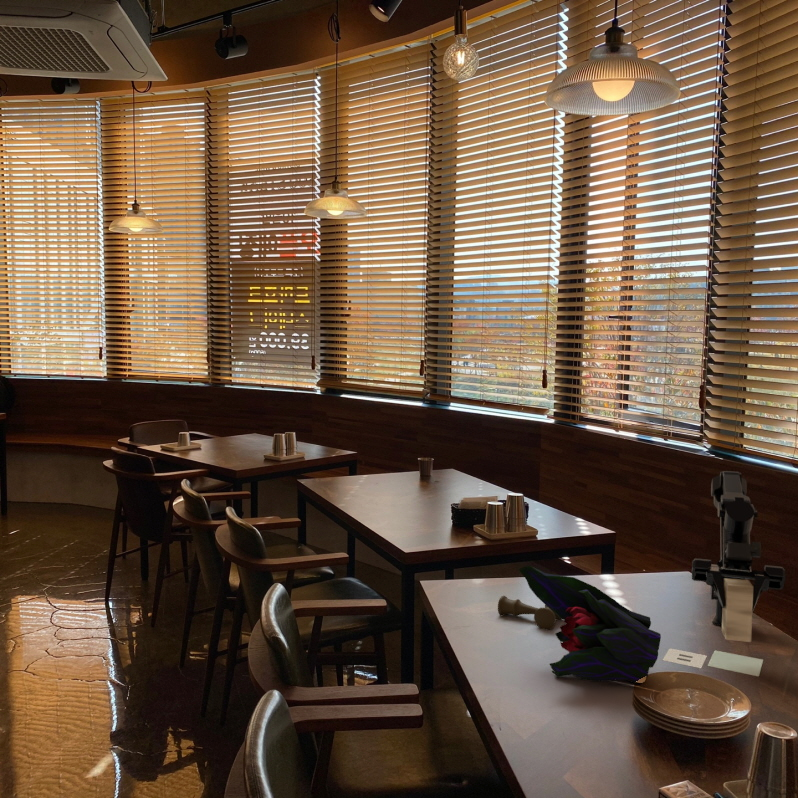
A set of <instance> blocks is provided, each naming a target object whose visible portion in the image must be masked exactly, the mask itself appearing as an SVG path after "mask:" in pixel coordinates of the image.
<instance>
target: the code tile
mask: <svg viewBox="0 0 798 798" xmlns="http://www.w3.org/2000/svg"><path fill="white" fill-rule="evenodd" d="M707 657H708V655H705V654H700V653H695V652H690V651H685V650H681V649H676V648H675V649H674V648H668V650H667V652H666V653H665V655H664V657H663V659H662V661H664V662H669V663H673V664H678V665H682V666H689V667H692V668H693V667H694V668H698V669H702V667H703V666H704V663H705V661H706V659H707Z"/></svg>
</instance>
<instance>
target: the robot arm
mask: <svg viewBox="0 0 798 798" xmlns="http://www.w3.org/2000/svg"><path fill="white" fill-rule="evenodd" d="M710 487H711V488H710V496H711V497H713V505H714V507H715V508H716V509H717V517H718V518H719V519H720V521H719V522H720V523H719V525H720V527H719V529H720V530H719V532H720V537H719V539H720V543H719V544H720V560H719V561H717V563H716V564H712V559H705V558H696V557H695V558H694V559H693V560H692V564H691V565H692V566H691V580H692V581H696V582H705V584H706V585H708V586H710V599H711V600H714V601H716V602H715V616H714V618H713V620H712V624H713V625H715V626H722V608H725V597H724V590H723V584H724V578H728V579H741V580H753V584H752V586H753V607H752V612H754V610H755V608H756V606H757V602H758V599H759V598H760V596H761V595H762V594H763V593H762V592H768V590H778V591H781V590H784V587H785V582H786V570H785V569H784V567H783V566H776V565H767V564H765V565H764V569H763V570H756V569H755V570H754V569H752V567H753V558H758V559H759V558H761V556H762V545H761V541H751V536H750V535H751V531H752V527H753V521H754V520H756V518H758V516H759V515H758V514H759V512H758V510H757V509H756V508H755V506H754V504H751V499H750V497H749V496H747V480H746V479H745V478H744V477H742V473H741V472H739V471H730V470H729V471H728V470H723V471H720V474H718V475H716V476H715V477H713V478H712V479H711V484H710Z"/></svg>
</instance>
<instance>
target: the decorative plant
mask: <svg viewBox="0 0 798 798" xmlns="http://www.w3.org/2000/svg"><path fill="white" fill-rule="evenodd" d="M518 571H519V572H520V573H521V575H522V576H523V578H525V580H526V583H527V585H528V587H529V589H530V590H531V591H532V593H533V594H534V595H535V596H536V598H537V599H539V600H540V601H541V602H542V603H543V604H544V606H545V605H546V606H547V607H549V608H550V609H551V610H552V611H553V612H554V613H555V614H556V615H557V616H559V617H560V618H562V620H563V622H564V623H565V624H563V625H561V626H559V629H560V631H558V632H555V636H556V638H557V639H558V640H559V642H560V643H559V644H560V646H561V648H562V649H564V650H566V651H567V652H568V653H566V654H564V655H563V657H561V659H560V660H557V661H555V662H551V663H549V666H550V668H551V669H552V670H551V672H552V674H554V675H555V676H556V677H557V678H561V677H564V676H570V675H572V676H574V677H576V678H577V679H579V680H583V681H590V682H591V681H592V682H609V681H610V682H613V681H616V682H617V681H628V682H631V683H634V684H636V683H635V682H636V681H638V680H639V679H641V678H643V677H645V676H647V677H648V676H649V672H650V669H651V668H652V669H653V668H654V666H655V664H656V663H657V660H658V658H659V650H660V644H661V638H662V636H661V633H660V632H657V631H655V630H652V629H650V627H651V625H652V621H651V617H650V616H647V615H644V614H640V613H637V612H635V611H631V610H630V609H628V608H627V607H625V606H624V605H622V604H620V603H619V602H617V601H616V599H613V598H612V597H611V596H610V595H608V594H606V593H605V592H603V591H602V590H601V589H599V588H597V587H595V586H594V585H592V584H590V583H588V582H585V581H583V580H581V579H579V578H576V577H575V576H565V575H559V574H551V573H546V572H544V571H542V570H540V569H538V568H536V567H534V566H531V565H526V566H524V567H520V568H519V569H518Z"/></svg>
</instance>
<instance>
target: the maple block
mask: <svg viewBox="0 0 798 798" xmlns="http://www.w3.org/2000/svg"><path fill="white" fill-rule="evenodd" d="M723 590H724V597H725V608H722V625H721V632H722V635H723V636H724V639H725V640H727V641H738V642H747V643H752V631H753V630H752V626H753V624H752V623H753V611H752V607H753V584H752V583H751V581H750V579H748V580H741V579H728V578H724V584H723Z"/></svg>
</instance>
